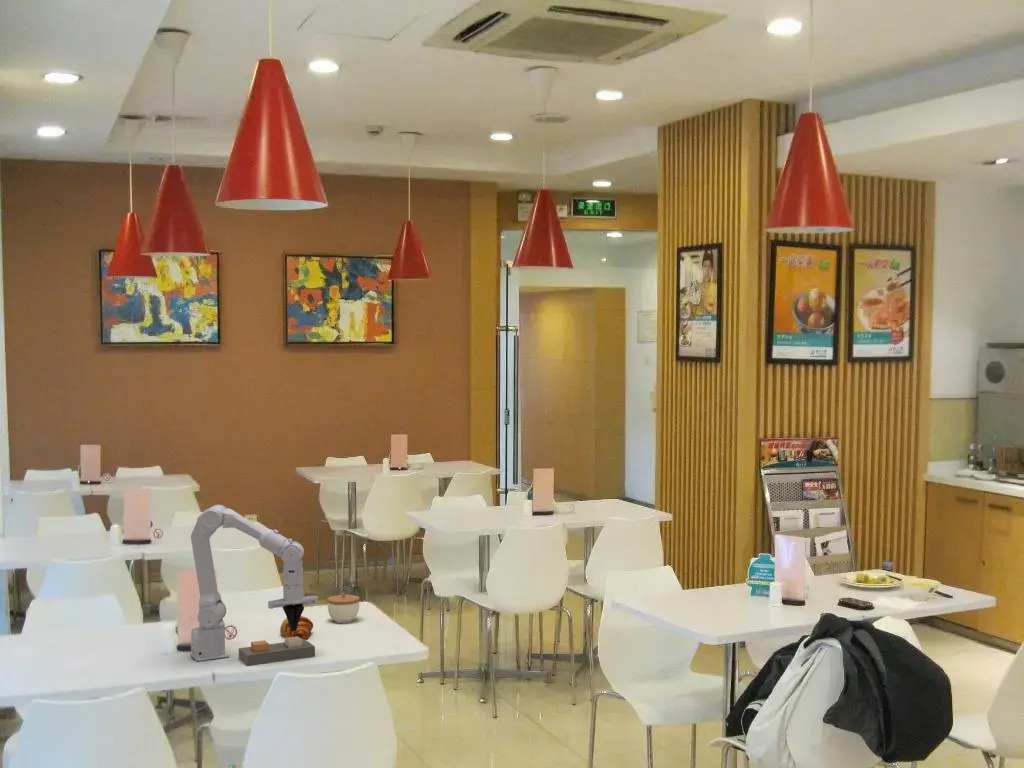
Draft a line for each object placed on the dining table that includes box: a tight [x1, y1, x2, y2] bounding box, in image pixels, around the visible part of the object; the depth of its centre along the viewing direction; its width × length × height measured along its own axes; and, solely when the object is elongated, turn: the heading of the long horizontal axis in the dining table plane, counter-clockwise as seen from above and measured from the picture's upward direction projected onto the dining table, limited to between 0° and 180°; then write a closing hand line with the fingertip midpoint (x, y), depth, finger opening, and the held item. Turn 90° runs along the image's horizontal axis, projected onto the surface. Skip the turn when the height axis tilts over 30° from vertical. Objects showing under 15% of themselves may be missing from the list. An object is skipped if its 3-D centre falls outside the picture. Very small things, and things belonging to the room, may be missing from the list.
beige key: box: [284, 637, 303, 648], centre depth 315 cm, size 4×4×3 cm
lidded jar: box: [326, 592, 360, 624], centre depth 358 cm, size 11×11×9 cm
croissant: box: [279, 615, 314, 640], centre depth 340 cm, size 21×10×8 cm, turn 20°
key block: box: [238, 639, 316, 667], centre depth 313 cm, size 20×9×3 cm, turn 120°
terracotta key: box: [250, 639, 270, 653], centre depth 310 cm, size 4×4×3 cm
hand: (293, 630), depth 315 cm, fingers closed
